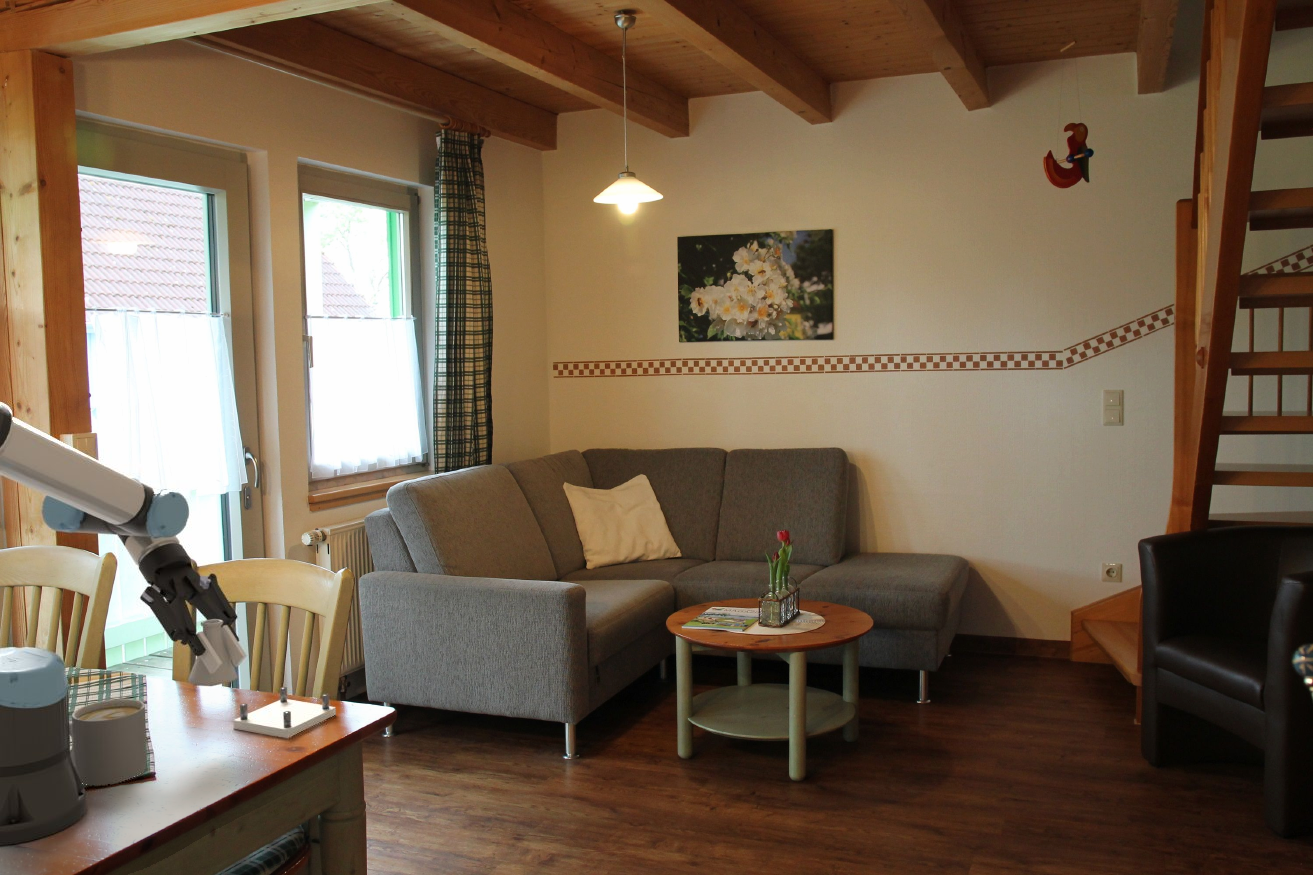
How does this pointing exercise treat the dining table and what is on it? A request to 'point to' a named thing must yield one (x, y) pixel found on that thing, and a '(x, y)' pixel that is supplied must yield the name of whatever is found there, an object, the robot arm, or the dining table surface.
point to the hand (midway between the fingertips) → (228, 664)
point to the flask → (226, 669)
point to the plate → (272, 718)
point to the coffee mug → (109, 741)
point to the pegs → (287, 713)
